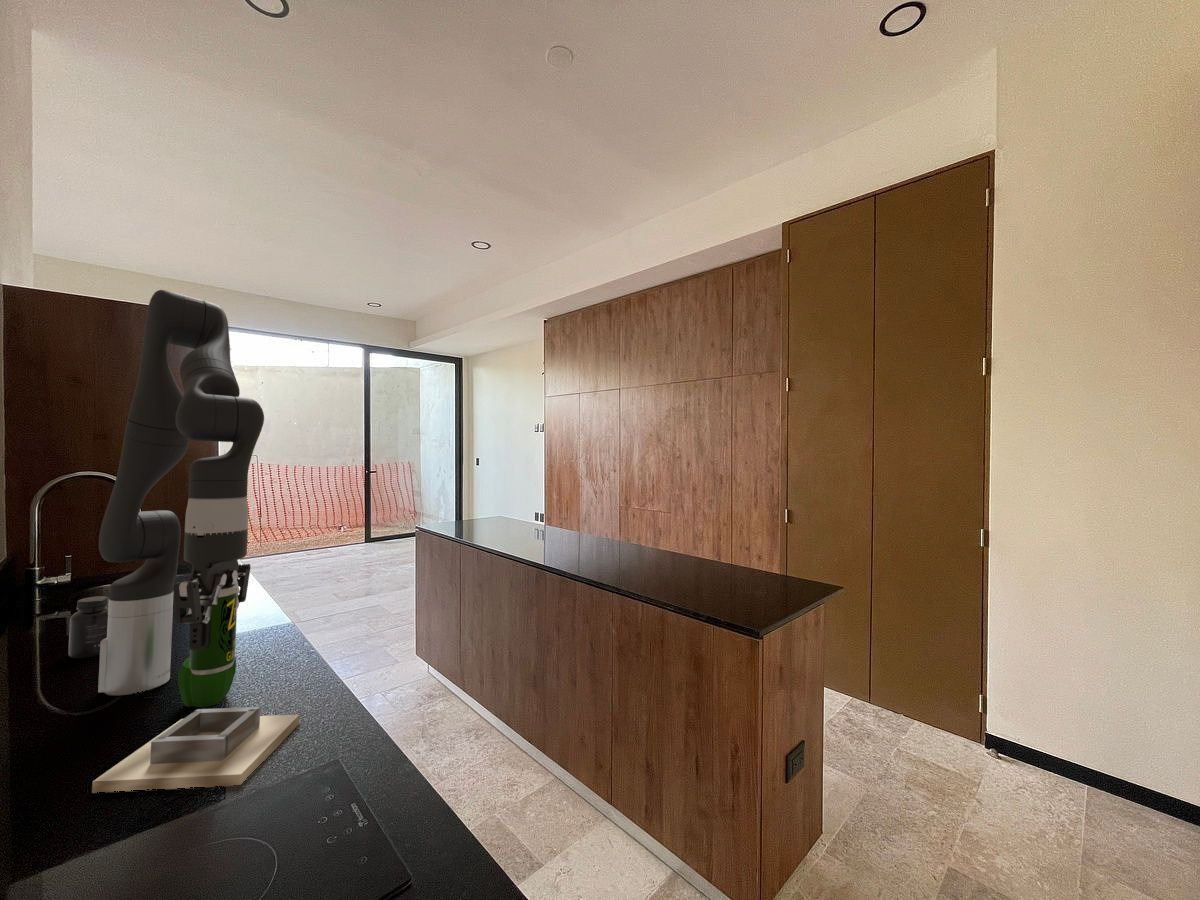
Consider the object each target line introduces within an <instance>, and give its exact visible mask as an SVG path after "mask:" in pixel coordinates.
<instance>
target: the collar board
mask: <svg viewBox="0 0 1200 900" xmlns="http://www.w3.org/2000/svg"><path fill="white" fill-rule="evenodd" d="M299 725H300V714H282V715H281V714H280V715H279V714H277V715H276V714H275V715H261V707H260V706H257V707H256V706H253V707H251V706H250V707H225V708H224V707H223V708H197V709H195V710H193V712H191V713H190V714H189V715H187V716H185V717H184V718H180V719H179V720H178V721H176V723H174V724H172V725H171V726H169V727H168V728H166V729H165V730H163V731H162V732H161V733H160V734H158V735H157V736H155V737H153V738H152V739H151V740H149V741H148V742H147V743H145V744H144V745H142V746H141V747H139V748H138V749H136V750H135V751H133V752H132V753H131V754H129V755H128V756H127V757H125V758H124V759H122V760H121V761H119V762H118V763H117V764H115V765H114V766H112V767H111V768H110V769H108V770H106V771H105V772H104V773H103V774H100V776H98V777H97V778H96V779H93V780H92V786H91V793H92V794H100V793H99V792H105V793H120V792H119V791H125V792H134V791H133V790H145V791H153V790H152V789H156V790H155V791H158V790H157V789H165V790H178V789H177V788H185V789H191V788H190V787H193V788H192V789H195V788H194V787H205V788H216V787H215V786H218V787H217V788H219V786H222V787H223V786H224V787H234V786H233V785H241V784H242V783H243V781H245V780H247V779H248V778H249V777H250V776H251V775H252V774H253V773H254V772H255V771H256V770H257V769H258V768H259V767H260V766H261V765H262V764H263V763H262V762H263V761H266V760H267V758H269V756H270V755H271V754H272V753H273V752H274V751H275V750H276V749H277V748H278V746H280V745H281V744H282V743H283V741H284V740H285V739H287V737H289V735H290V734H291V733H292V732H293V731H294V730H295V729H296V728H297V727H298V726H299ZM261 763H262V764H261ZM260 764H261V765H260ZM259 765H260V766H259ZM258 766H259V767H258ZM257 767H258V768H257ZM256 768H257V769H256ZM255 769H256V770H255ZM254 770H255V771H254ZM253 771H254V772H253ZM252 772H253V773H252ZM251 773H252V774H251ZM250 774H251V775H250ZM249 775H250V776H249ZM248 776H249V777H248ZM247 777H248V778H247ZM246 778H247V779H246ZM243 784H244V783H243ZM243 784H242V785H243ZM242 785H241V786H242ZM147 789H149V790H147ZM131 790H132V791H131ZM114 791H116V792H114ZM117 791H118V792H117ZM97 792H98V793H97Z"/></svg>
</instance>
